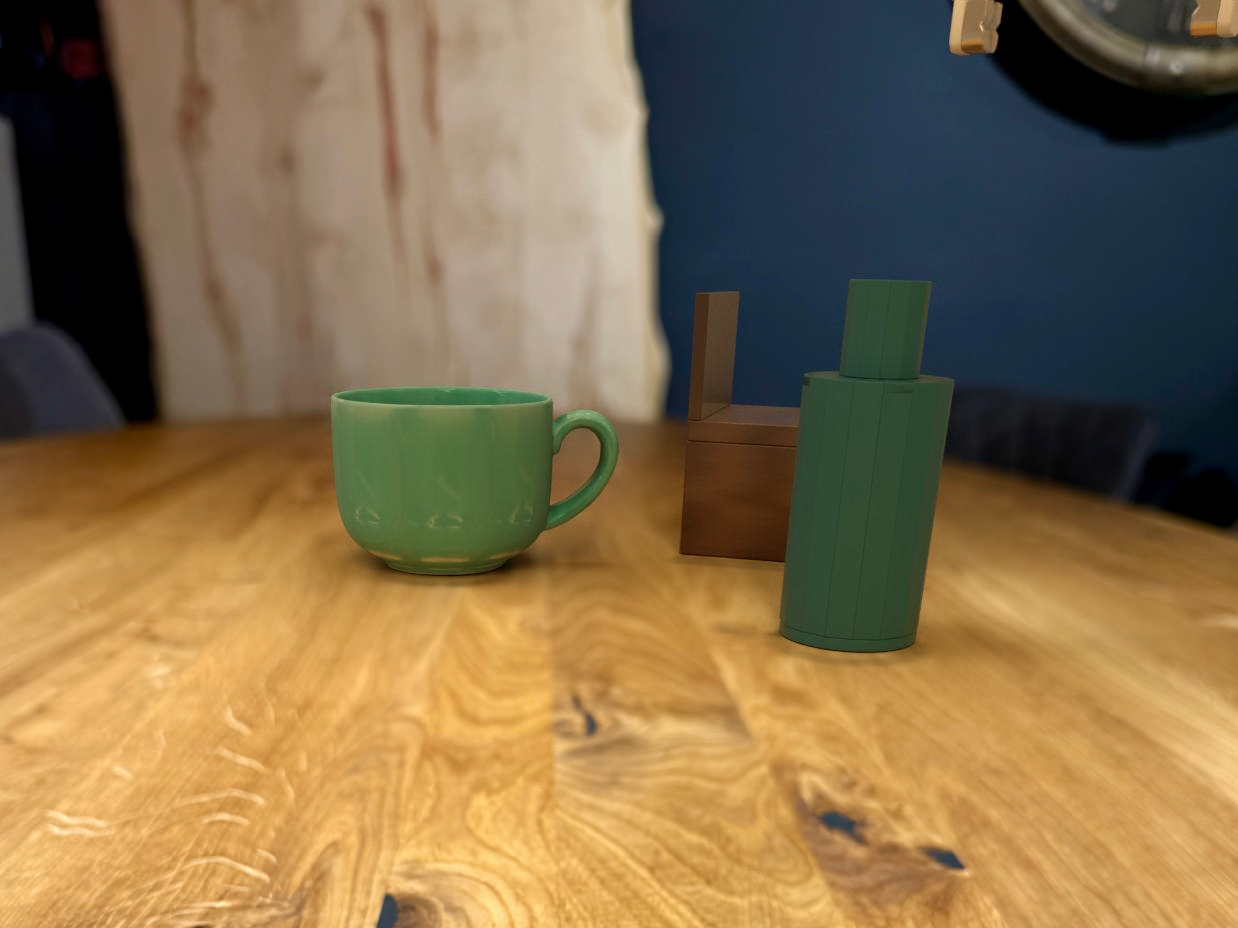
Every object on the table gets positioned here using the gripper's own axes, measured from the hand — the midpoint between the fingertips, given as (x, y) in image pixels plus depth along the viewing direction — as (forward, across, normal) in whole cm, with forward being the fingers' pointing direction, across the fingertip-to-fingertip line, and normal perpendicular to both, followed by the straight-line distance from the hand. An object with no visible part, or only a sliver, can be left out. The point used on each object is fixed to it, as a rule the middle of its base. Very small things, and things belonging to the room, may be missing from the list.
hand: (1086, 44), depth 52 cm
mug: (+25, +31, +1) cm, 40 cm away
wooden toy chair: (+25, +20, -18) cm, 37 cm away
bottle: (+25, +6, +2) cm, 26 cm away
